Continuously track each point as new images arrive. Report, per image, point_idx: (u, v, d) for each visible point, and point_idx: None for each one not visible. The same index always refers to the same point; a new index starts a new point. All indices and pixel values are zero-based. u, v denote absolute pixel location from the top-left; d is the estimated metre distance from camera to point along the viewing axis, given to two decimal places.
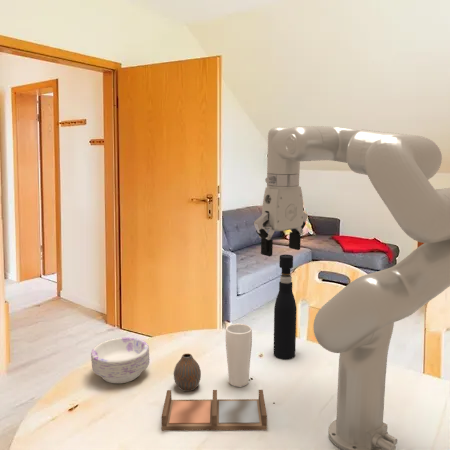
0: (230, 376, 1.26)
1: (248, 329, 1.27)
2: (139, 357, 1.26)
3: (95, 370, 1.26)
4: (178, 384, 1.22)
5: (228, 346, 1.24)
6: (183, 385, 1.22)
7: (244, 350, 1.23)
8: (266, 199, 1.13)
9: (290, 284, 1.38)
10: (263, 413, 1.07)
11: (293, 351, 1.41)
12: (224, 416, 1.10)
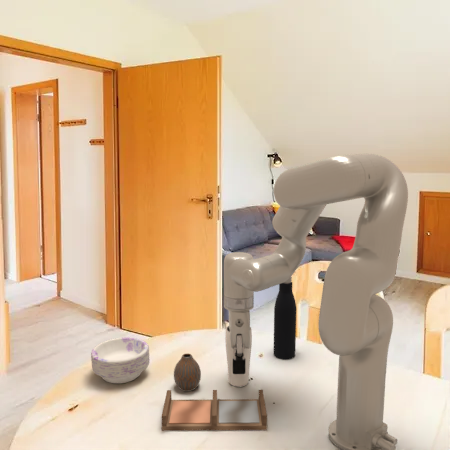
0: (230, 376, 1.26)
1: None
2: (139, 357, 1.26)
3: (95, 370, 1.26)
4: (178, 384, 1.22)
5: (228, 346, 1.24)
6: (183, 385, 1.22)
7: None
8: (235, 322, 1.20)
9: (290, 284, 1.38)
10: (263, 413, 1.07)
11: (293, 351, 1.41)
12: (224, 416, 1.10)
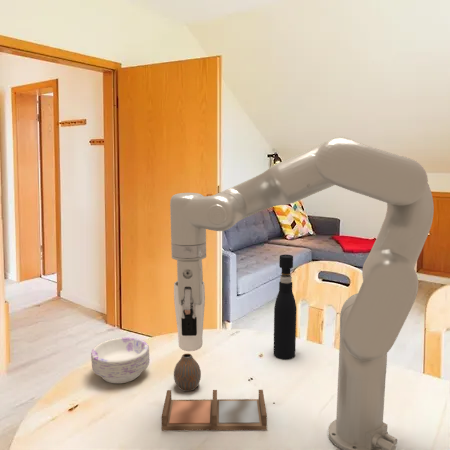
0: (180, 339, 1.07)
1: None
2: (139, 357, 1.26)
3: (95, 370, 1.26)
4: (178, 384, 1.22)
5: (176, 303, 1.05)
6: (183, 385, 1.22)
7: None
8: (182, 274, 1.02)
9: (290, 284, 1.38)
10: (263, 413, 1.07)
11: (293, 351, 1.41)
12: (224, 416, 1.10)
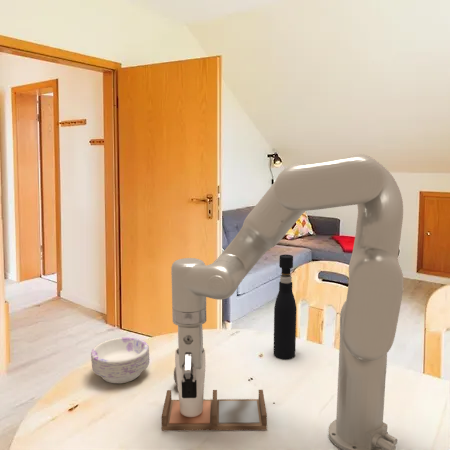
0: (181, 405, 1.10)
1: None
2: (139, 357, 1.26)
3: (95, 370, 1.26)
4: None
5: (177, 371, 1.08)
6: None
7: (195, 376, 1.07)
8: (183, 339, 1.04)
9: (290, 284, 1.38)
10: (263, 413, 1.07)
11: (293, 351, 1.41)
12: (224, 416, 1.10)
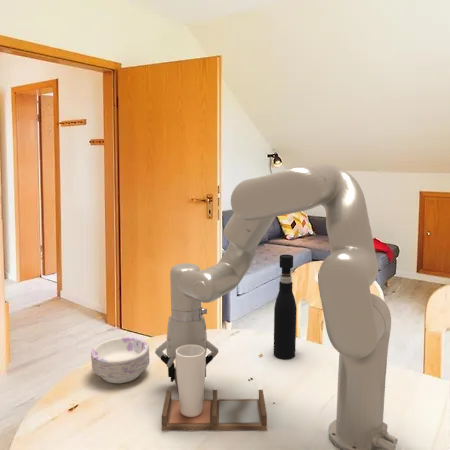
0: (181, 405, 1.10)
1: (202, 351, 1.11)
2: (139, 357, 1.26)
3: (95, 370, 1.26)
4: None
5: (178, 371, 1.08)
6: None
7: (196, 375, 1.07)
8: None
9: (290, 284, 1.38)
10: (263, 413, 1.07)
11: (293, 351, 1.41)
12: (224, 416, 1.10)
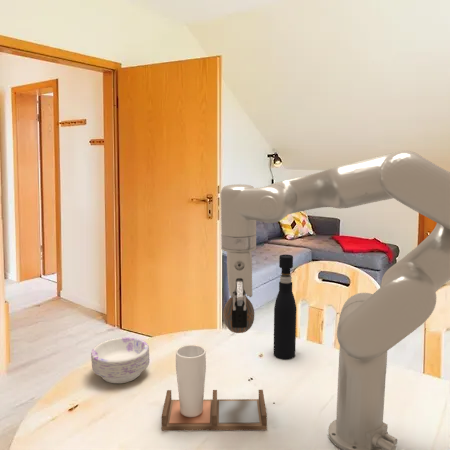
0: (181, 405, 1.10)
1: (202, 351, 1.11)
2: (139, 357, 1.26)
3: (95, 370, 1.26)
4: None
5: (178, 372, 1.08)
6: None
7: (196, 376, 1.07)
8: (234, 265, 1.01)
9: (290, 284, 1.38)
10: (263, 413, 1.07)
11: (293, 351, 1.41)
12: (224, 416, 1.10)
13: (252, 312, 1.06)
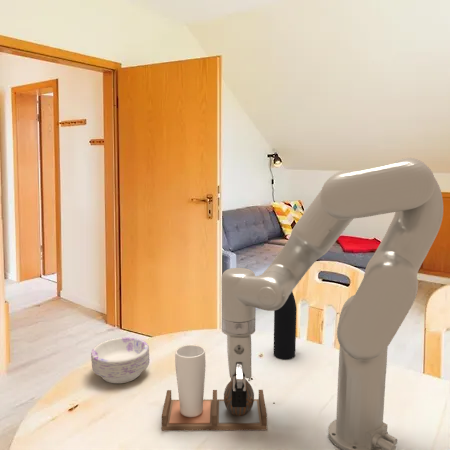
0: (181, 405, 1.10)
1: (201, 351, 1.11)
2: (139, 357, 1.26)
3: (95, 370, 1.26)
4: None
5: (178, 371, 1.08)
6: None
7: (196, 376, 1.07)
8: (234, 349, 1.05)
9: None
10: (263, 413, 1.07)
11: (293, 351, 1.41)
12: (224, 416, 1.10)
13: (252, 396, 1.10)
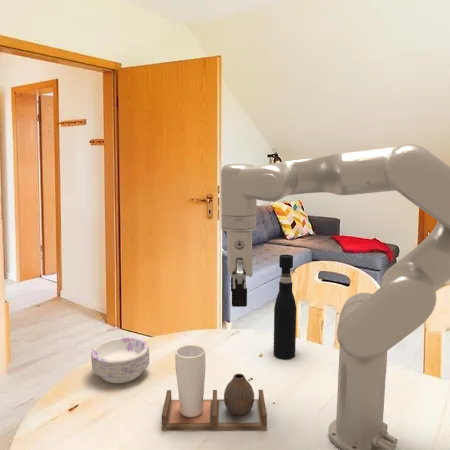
0: (181, 405, 1.10)
1: (201, 351, 1.11)
2: (139, 357, 1.26)
3: (95, 370, 1.26)
4: None
5: (178, 372, 1.08)
6: None
7: (196, 376, 1.07)
8: (234, 245, 1.01)
9: (290, 284, 1.38)
10: (263, 413, 1.07)
11: (293, 351, 1.41)
12: (224, 416, 1.10)
13: (252, 396, 1.10)
